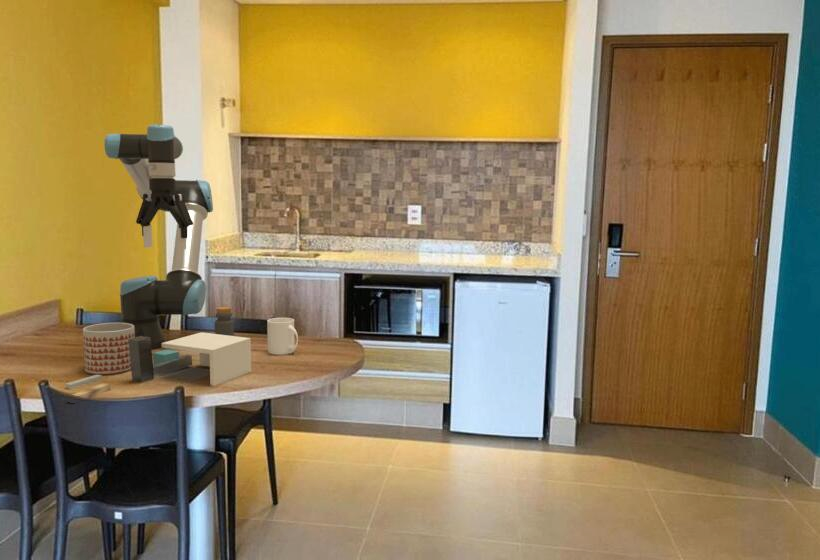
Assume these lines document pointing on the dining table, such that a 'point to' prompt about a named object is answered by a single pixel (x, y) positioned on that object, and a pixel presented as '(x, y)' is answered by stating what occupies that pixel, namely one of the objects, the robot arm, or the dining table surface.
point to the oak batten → (94, 390)
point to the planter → (107, 348)
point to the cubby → (217, 354)
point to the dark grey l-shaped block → (151, 361)
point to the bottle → (224, 321)
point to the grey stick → (83, 381)
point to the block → (164, 356)
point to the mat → (189, 373)
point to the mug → (281, 336)
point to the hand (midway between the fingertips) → (165, 248)
